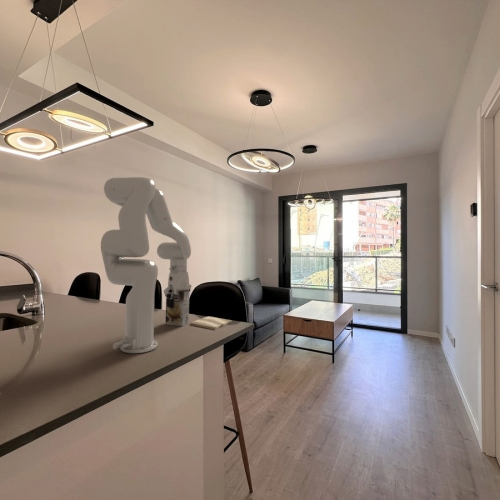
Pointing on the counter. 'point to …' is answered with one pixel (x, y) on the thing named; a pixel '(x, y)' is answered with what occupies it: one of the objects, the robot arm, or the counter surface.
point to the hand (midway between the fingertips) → (178, 305)
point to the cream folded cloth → (211, 322)
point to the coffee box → (178, 309)
